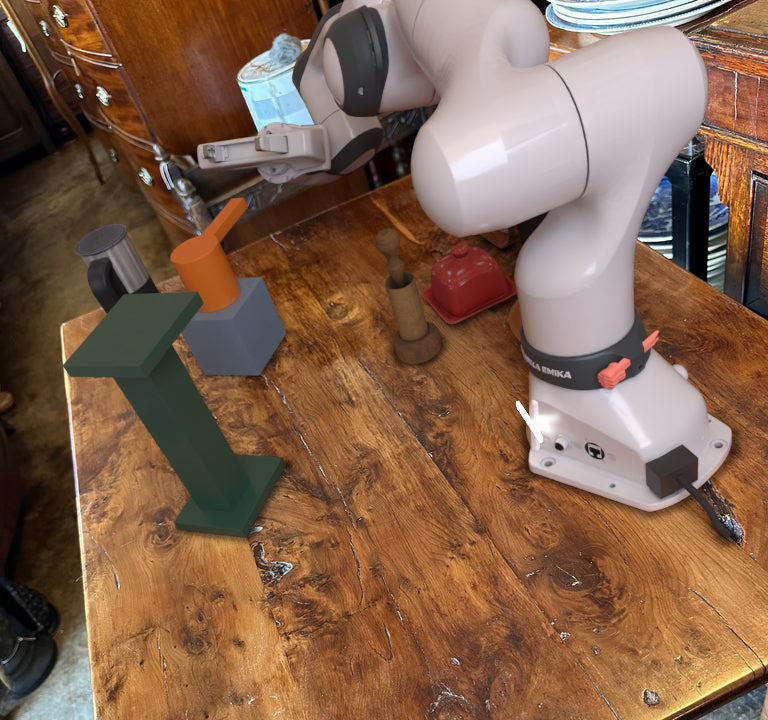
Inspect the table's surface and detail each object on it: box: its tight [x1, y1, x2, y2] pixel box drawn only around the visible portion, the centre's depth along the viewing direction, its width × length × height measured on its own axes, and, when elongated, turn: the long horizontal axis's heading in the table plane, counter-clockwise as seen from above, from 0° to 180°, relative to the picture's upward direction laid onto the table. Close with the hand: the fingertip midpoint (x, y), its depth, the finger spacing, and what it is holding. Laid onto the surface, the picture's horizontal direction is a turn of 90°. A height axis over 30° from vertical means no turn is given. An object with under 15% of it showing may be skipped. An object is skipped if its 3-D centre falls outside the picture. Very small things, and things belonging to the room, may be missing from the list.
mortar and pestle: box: [375, 228, 443, 365], centre depth 102 cm, size 7×6×18 cm
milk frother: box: [73, 223, 161, 315], centre depth 130 cm, size 14×16×15 cm
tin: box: [478, 225, 520, 249], centre depth 120 cm, size 15×3×8 cm, turn 25°
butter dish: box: [421, 243, 517, 325], centre depth 111 cm, size 12×12×8 cm
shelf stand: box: [62, 291, 287, 539], centre depth 90 cm, size 12×10×26 cm
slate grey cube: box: [180, 276, 287, 377], centre depth 117 cm, size 10×10×10 cm
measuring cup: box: [169, 197, 248, 313], centre depth 113 cm, size 17×7×8 cm, turn 160°
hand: (230, 147), depth 113 cm, fingers open, 8 cm apart
